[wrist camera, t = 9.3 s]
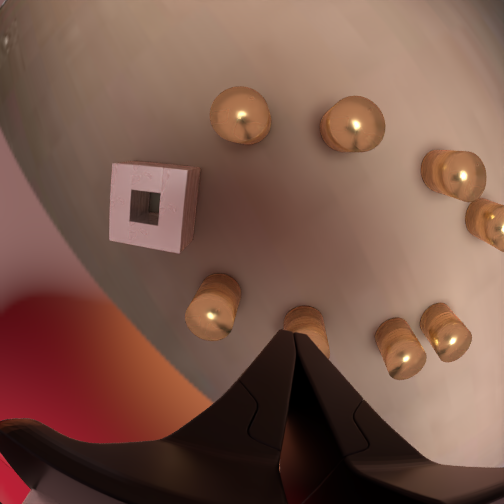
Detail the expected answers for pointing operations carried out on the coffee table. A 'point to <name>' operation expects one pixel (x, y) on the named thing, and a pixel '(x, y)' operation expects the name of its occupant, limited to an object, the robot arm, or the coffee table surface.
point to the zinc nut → (137, 204)
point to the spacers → (353, 140)
